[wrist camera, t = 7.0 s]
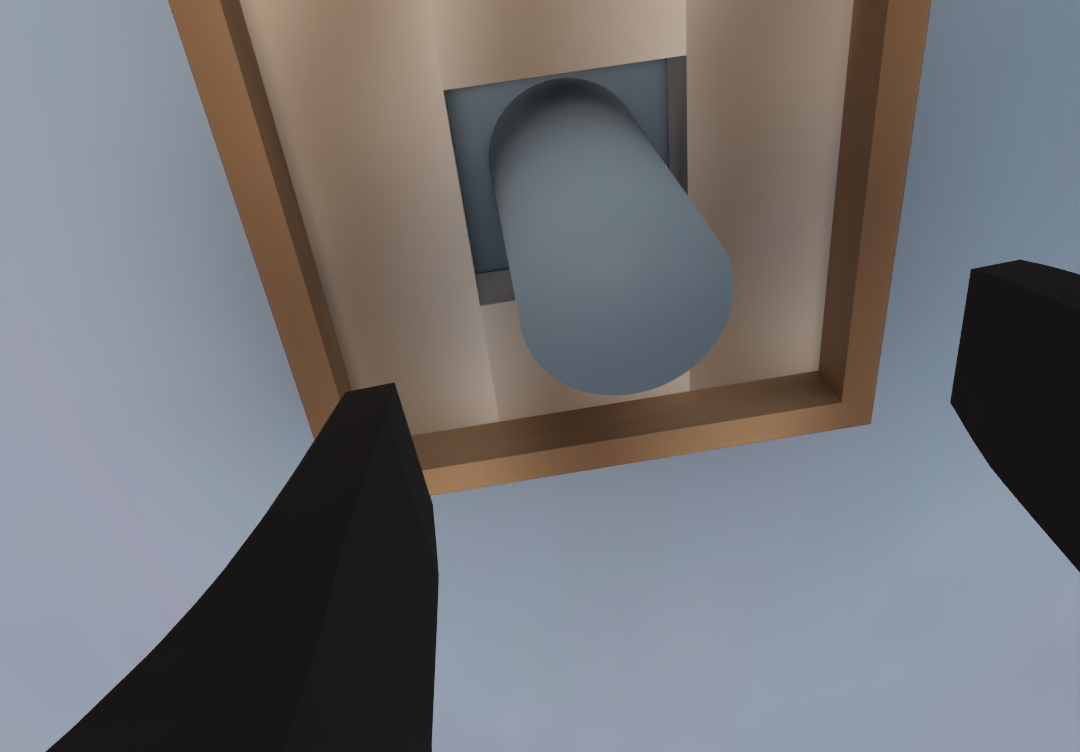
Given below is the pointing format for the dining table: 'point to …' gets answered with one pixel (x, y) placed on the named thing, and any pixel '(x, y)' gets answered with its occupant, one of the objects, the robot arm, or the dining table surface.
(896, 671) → the dining table surface
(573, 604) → the dining table surface
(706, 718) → the dining table surface
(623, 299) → the peg
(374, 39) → the tray box
